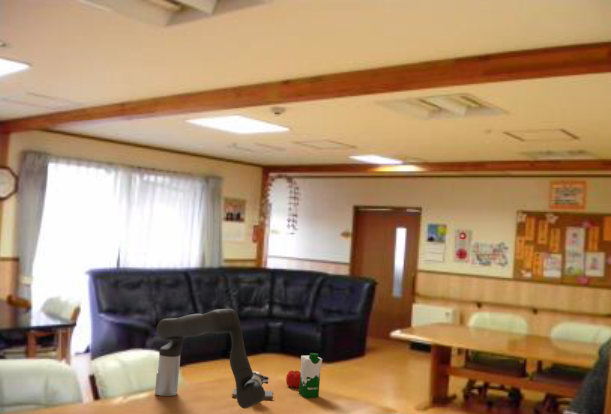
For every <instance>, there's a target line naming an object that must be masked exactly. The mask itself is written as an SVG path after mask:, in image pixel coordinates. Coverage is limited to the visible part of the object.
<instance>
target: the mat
mask: <svg viewBox="0 0 611 414" xmlns="http://www.w3.org/2000/svg"><path fill="white" fill-rule="evenodd" d="M264 391H265V395H271V396H272V397H273V391H272V390H264ZM232 393H236V388H233V391H232Z"/></svg>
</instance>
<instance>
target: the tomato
mask: <svg viewBox="0 0 611 414" xmlns="http://www.w3.org/2000/svg"><path fill="white" fill-rule="evenodd" d="M300 375H301V370H289V371H288V373H287V374H286V377H285V383H286V385H287V386H288V387H289V388H295V389H297V388H299V387H300Z"/></svg>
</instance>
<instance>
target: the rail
mask: <svg viewBox="0 0 611 414" xmlns="http://www.w3.org/2000/svg"><path fill="white" fill-rule="evenodd" d="M231 394H232V395H231V398H232V399H233V398H234V399H237V393H233V392H232V393H231ZM263 401H273V395H272V396H271V395H265V399H264V400H263Z"/></svg>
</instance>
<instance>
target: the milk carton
mask: <svg viewBox="0 0 611 414" xmlns="http://www.w3.org/2000/svg"><path fill="white" fill-rule="evenodd" d="M300 362H301V364H300V365H301V366H300V372H301V375H300V387H298V389H299V390H298V395H300V396H301V397H303V398H304V399H311V398H314V399H315V398H319V394H320V381H321V371H322V369H321V368H322V363H323V358H321V357H319V353H316V352H310V353H309V355H301V356H300Z"/></svg>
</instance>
